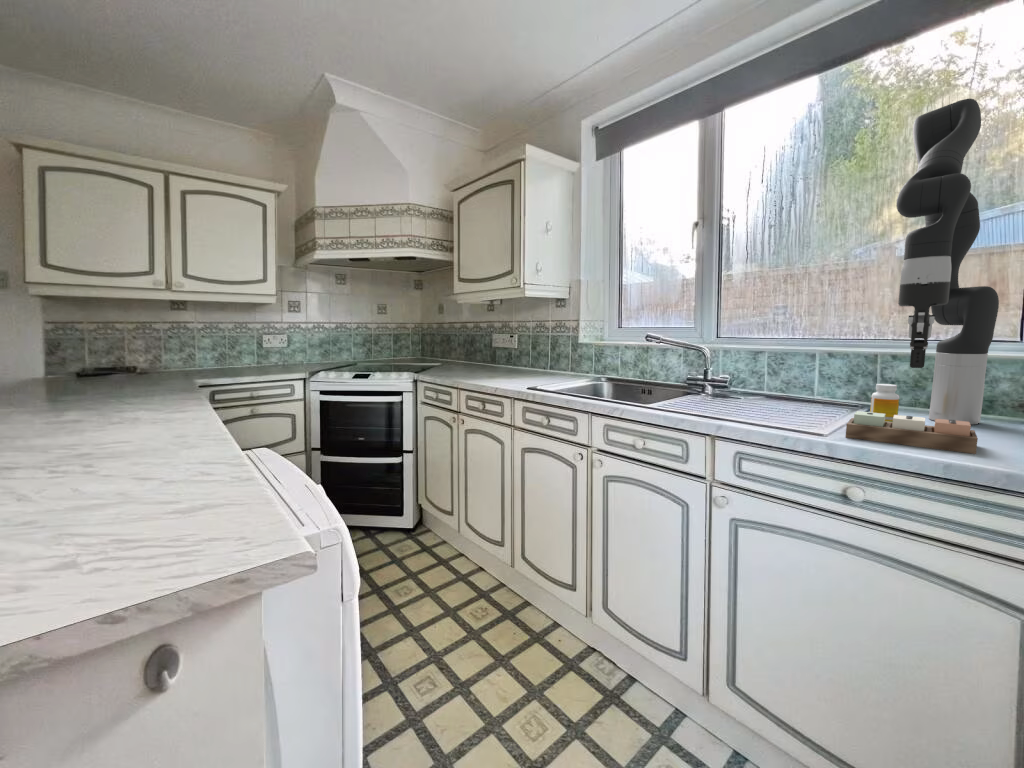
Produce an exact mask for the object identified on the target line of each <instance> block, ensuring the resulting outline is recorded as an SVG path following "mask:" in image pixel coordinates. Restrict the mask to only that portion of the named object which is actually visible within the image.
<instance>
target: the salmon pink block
mask: <svg viewBox="0 0 1024 768" xmlns="http://www.w3.org/2000/svg"><path fill="white" fill-rule="evenodd" d="M933 426H934V432H935V433H944V434H953V435H962V436H970V430H971V426H972V424H970V422H966V421H956V420H945V419H935V420H934V425H933Z"/></svg>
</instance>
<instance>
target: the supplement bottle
mask: <svg viewBox="0 0 1024 768" xmlns="http://www.w3.org/2000/svg"><path fill="white" fill-rule="evenodd" d="M897 387H898V385H897V384H890V383H876V384H875V390H876V391H875V392H872V394H871V396H870V397H871V399H870V409H869V412H872V413H882V414H885V421H889V422H893V417H894V415H899V406H900V395H899V394H897V391H898V388H897Z"/></svg>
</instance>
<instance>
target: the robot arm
mask: <svg viewBox="0 0 1024 768" xmlns="http://www.w3.org/2000/svg"><path fill="white" fill-rule="evenodd" d="M981 127H982V113H981V108H980V105H979V102H978V101H977V100H976V99H974V98H965V99H961V100H958V101H954V102H953V103H950V104H947V105H944V106H942V107H939V108H937V109H934V110H931V111H928V112H926V113H923V114H921V115H919V116H918V117H916V118H915V120H914V122H913V126H912V137H913V138H912V139H913V145H914V150H915V156H916V160H917V164H918V165H917V169H916V172H915V173H914V174H913V175H911V177H910V178H909V179H908V180H907V181H906V182H905V183H904V184H903V185H902V187H901V189H900V191H899V193H898V195H897V198H896V202H895V203H896V209H897V212H898V214H900V216H902V217H905V218H920V217H924V221H925V222H924V223H925V226H923V227H920V228H917V229H914V230H911V231H909V232H908V233H907V234H906V237H905V241H904V254H903V263H902V268H901V271H900V280H899V281H900V282H899V292H898V294H899V295H898V306H899V307H912V308H914V312H913V314H911V315H908V318H907V319H908V320H907V323H908V326H909V327H908V338H909V339H910V342H909V348H910V360H909V367H910V368H912V369H922V368H924V367H925V363H926V362H925V361H926V350H927V349H928V347H929V341H928V340H929V339H930V338H931V337H932V329H933V324H934V323H935V322H936V323H937V324H939V325H943V326H962V327H961V330H960V332H959V333H957V334H956V335H954V336H952V337H949V338H946V339H941V340H940V341H938V342H937V343H936V347H935V348H936V349H935V359H934V368H933V370H934V371H933V377H932V378H933V379H932V387H931V397H930V404H929V405H930V406H929V412H928V413H929V414H928V419H929V420H932V421H935V419H945V420H956V421H966V422H970V425H979V424H980V423H981V418H982V411H983V410H982V409H983V403H984V394H985V386H986V385H985V380H986V372H987V365H988V364H987V363H988V357H989V354H988V353H989V348H990V346H991V344H992V341H993V339H994V333H995V329H996V328H995V327H996V322H997V318H998V312H999V307H1000V306H999V305H1000V300H999V294H998V292H997V291H996V290H995V288H993V287H991V286H987V285H986V286H985V285H982V286H970V287H969V286H968V287H966V286H965V287H960V285H959V274H960V273H959V270H960V267H961V264H962V262H963V260H964V259H965V257H966V255H967V253H968V252H969V250H970V249H971V247H972V246H973V244H974V243H975V241H976V239H977V237H978V235H979V233H980V231H981V230H980V229H981V219H980V209H979V202H978V199H977V198H976V196H975V195H974V194H973V193H972V192H971V189H972V182H971V180H970V179H969V176H967V175H966V174H964V173H962V169H963V164H964V160H965V157H966V156H967V154H968V153H969V151H970V150H971V148H972V146H973V144H974V142H975V141H976V139H977V138H978V136H979V134H980V130H981ZM930 309H931V314H930ZM978 423H979V424H978Z"/></svg>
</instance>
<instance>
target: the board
mask: <svg viewBox="0 0 1024 768" xmlns="http://www.w3.org/2000/svg"><path fill="white" fill-rule="evenodd" d="M853 423H854V417H851V418H850V419H849V421H848V422H847V423H846V426H845V427H846V428H845V438H847V439H854V438H855V440H862V439H863V441H869V442H870V441H871V442H879V443H886V444H893V443H894V444H895V445H901V444H902V445H903V446H910V447H917V448H925V449H932V450H933V449H934V450H942V451H949V452H958V453H964V454H971V455H972V454H973V455H976V454H977V447H978V439H979V437H978V435H977V433H976V430H974V429H973V430H972V429H970V436H962V435H953V434H944V433H935V432H934V425H926V424H925V428H924V431H917V430H908V429H899V428H892V423H893V422H889V421H885V424H884V427H881V426H872V425H863V424H853Z"/></svg>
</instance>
